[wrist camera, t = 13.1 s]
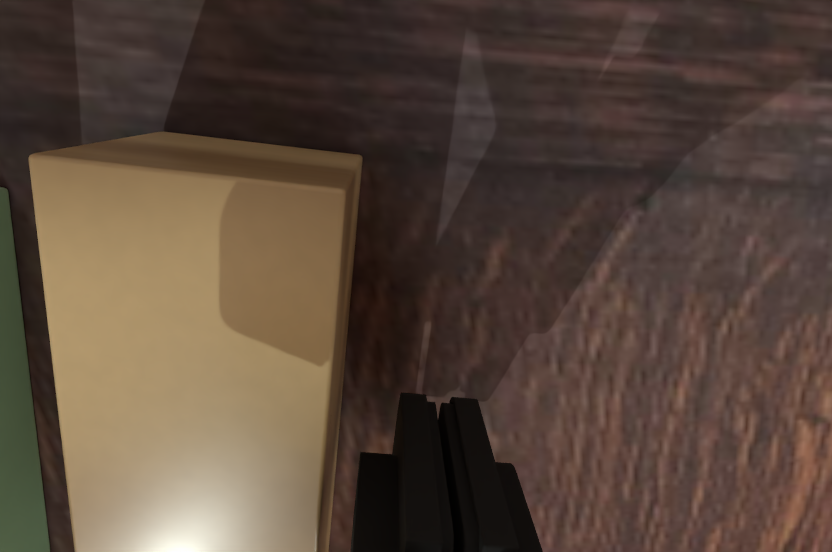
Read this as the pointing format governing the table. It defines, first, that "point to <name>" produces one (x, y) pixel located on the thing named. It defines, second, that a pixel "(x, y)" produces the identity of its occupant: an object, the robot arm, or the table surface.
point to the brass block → (197, 337)
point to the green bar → (17, 414)
